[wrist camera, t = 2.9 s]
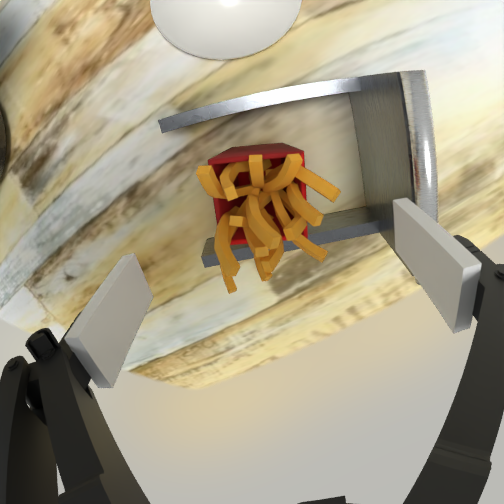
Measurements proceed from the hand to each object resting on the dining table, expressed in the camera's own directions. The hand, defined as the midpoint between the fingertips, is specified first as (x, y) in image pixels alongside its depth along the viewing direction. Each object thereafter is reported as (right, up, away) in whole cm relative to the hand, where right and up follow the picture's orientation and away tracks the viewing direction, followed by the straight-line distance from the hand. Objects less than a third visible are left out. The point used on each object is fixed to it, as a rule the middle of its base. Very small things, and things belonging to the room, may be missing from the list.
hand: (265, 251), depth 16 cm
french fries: (+1, +7, +16) cm, 17 cm away
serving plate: (-3, +24, +7) cm, 25 cm away
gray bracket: (+2, +8, +15) cm, 17 cm away
